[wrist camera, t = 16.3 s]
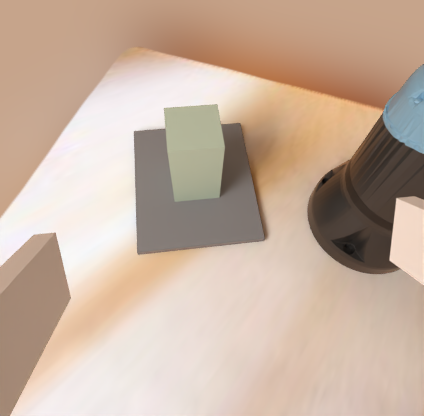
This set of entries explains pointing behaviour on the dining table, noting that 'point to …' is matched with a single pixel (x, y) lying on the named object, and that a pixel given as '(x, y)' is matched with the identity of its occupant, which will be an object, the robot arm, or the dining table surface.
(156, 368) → the dining table surface
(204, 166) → the sage block
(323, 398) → the dining table surface
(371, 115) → the dining table surface
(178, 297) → the dining table surface
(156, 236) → the mat
